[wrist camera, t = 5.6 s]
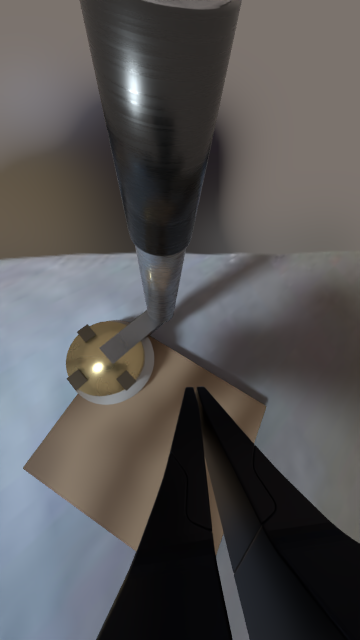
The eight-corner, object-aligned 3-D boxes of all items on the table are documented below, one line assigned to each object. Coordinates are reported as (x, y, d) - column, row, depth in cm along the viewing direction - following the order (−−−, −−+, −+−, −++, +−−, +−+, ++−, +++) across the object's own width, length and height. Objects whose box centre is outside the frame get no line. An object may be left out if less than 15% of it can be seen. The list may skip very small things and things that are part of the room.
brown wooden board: (260, 405, 18) (273, 407, 16) (198, 583, 13) (205, 618, 11) (110, 314, 19) (104, 306, 17) (5, 443, 15) (-19, 453, 13)
